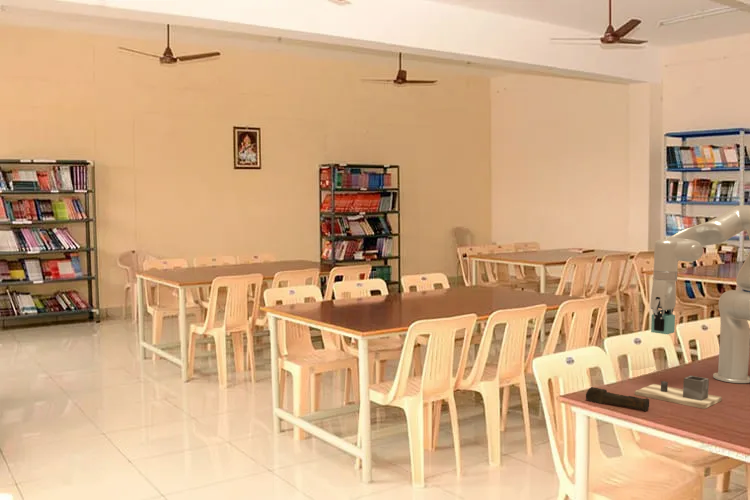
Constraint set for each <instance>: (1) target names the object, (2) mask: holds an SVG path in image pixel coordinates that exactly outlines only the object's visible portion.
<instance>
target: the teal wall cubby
mask: <svg viewBox="0 0 750 500" xmlns="http://www.w3.org/2000/svg"><path fill="white" fill-rule="evenodd" d="M660 314H661V312H660ZM663 319H664V331H657V330H654V313H652V314H651V324H650V325H651V326H650V327H651V329H650V330H651V331H650V332H651V333H656V334H662V335H670V334H673V333H675V329H676V328H675V326H676V325H675V324H676V315H675V314H673V315H672V314H664V317H663Z"/></svg>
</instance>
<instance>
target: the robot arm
mask: <svg viewBox="0 0 750 500" xmlns="http://www.w3.org/2000/svg"><path fill="white" fill-rule="evenodd" d="M744 231H746V233H747V235H748V238H749V240H750V205H746V204H745V205H737V206H733V207H732V208H730V209H728V210H727V211H725V212H723V213H721V214H719V215H717V216H716V217H714V218H713V219H710V220H708V221H706V222H703V223H700V224H697V225H693V226H690V227H688V228H685V229H682V230H680V231H678V232H676V233H675V234H673V235H671V236H669V237H668V238H666V239H657V240H656V241H655V242H654V251H653V253H654V254H653V273H652V274H653V275H652V277H653V282H652V288H651V295H650V305H649V306H650V309H651V310H652V312H653V314H654V330H657V331H664V319H663V317H664V314H672V315H674V314H673V313H674V309H675V307H676V301H677V297H676V296H677V283H676V282H677V281H678V269H679V268H678V267H679V266H678V264H679V261H681V262H689V263H691V262H695V261H698V260H700V258H702V256H703V253H704V248H703V247H704V246H713V245H718V244H722V243H724V242H726V241H728V240H730V239H732V238H733V237H735V236H736V235H738V234H740V233H741V232H744ZM735 282H736V285H737V286H738V287H739V288H740V289H742V290H737V289H729V290H727V291H725V292H723V293H721V295H720V296H719V299H718V312H719V318H720V330H719V346H718V347H719V349H718V368H717V372H714V373H713V374H712V377H713V379H715V380H717V381H721V382H727V383H733V384H749V383H750V375H748V374H749V362H750V361H749V360H750V359H749V358H750V323H749V321H750V251H749V252H748V255H747V256H746V258H745V260H744V262H743V264H742V266H741V268H740V269H739V270H738V273H737V276H736V280H735ZM660 313H661V314H660Z"/></svg>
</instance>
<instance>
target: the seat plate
mask: <svg viewBox="0 0 750 500" xmlns="http://www.w3.org/2000/svg"><path fill="white" fill-rule="evenodd" d="M668 383H669V382H668V381H665V380H663V381H660V384H656V383H652V384H649V385H648V386H644V387H642V388H640V389H637V390H634V395H636V396H640V397H645V398H648V399H649V398H650V399H654V400H659V401H665V402H669V403H673V404H674V403H675V404H677V405H679V404H680V405H684V406H688V407H693V408H698V409H703V410H705V409H708V408H710V407H712V406H714V405H716V404H717V403H720V402H722V400H723V399H722V398H723V397H722V396H720V395H719V396H718V395H714V394H709V388H710V387H709V386H710V385H709V384H710V378H707V377H702V376H701V377H700V376H696V375H689V376H686V377H683V383H682V384H683V387H682V388H677V387H672V386H668Z"/></svg>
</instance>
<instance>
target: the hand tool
mask: <svg viewBox="0 0 750 500" xmlns="http://www.w3.org/2000/svg"><path fill="white" fill-rule="evenodd" d="M585 400H586V401H588V400H589V402H591V401H592V403H595V402H596V404H601V405H603V404H604V405H605V404H610V405H615V406H620V407H621V406H622V407H625V408H631V409H634V410H640V411H641V410H642V411H643V412H645V413H646V412H648V410H649V409H650V399H649V397H645V398H642V397H641V398H640V397H637V396H631V395H625V394H618V393H613V392H608V391H607V389H605V388H604V389H603V388H598V387H593V386H591V387H590V388H588V389H587V391H586V393H585Z"/></svg>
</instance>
